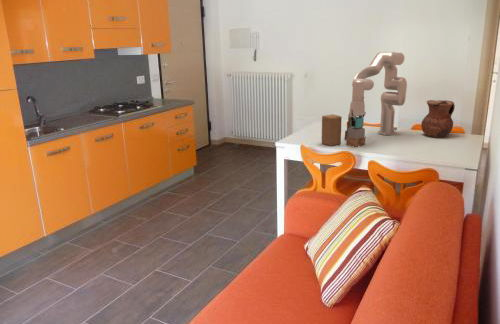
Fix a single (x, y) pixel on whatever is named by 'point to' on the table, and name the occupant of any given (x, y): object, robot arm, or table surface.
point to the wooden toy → (348, 127)
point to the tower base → (355, 141)
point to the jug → (438, 118)
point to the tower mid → (356, 132)
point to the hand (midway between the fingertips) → (356, 125)
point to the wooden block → (331, 129)
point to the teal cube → (358, 122)
